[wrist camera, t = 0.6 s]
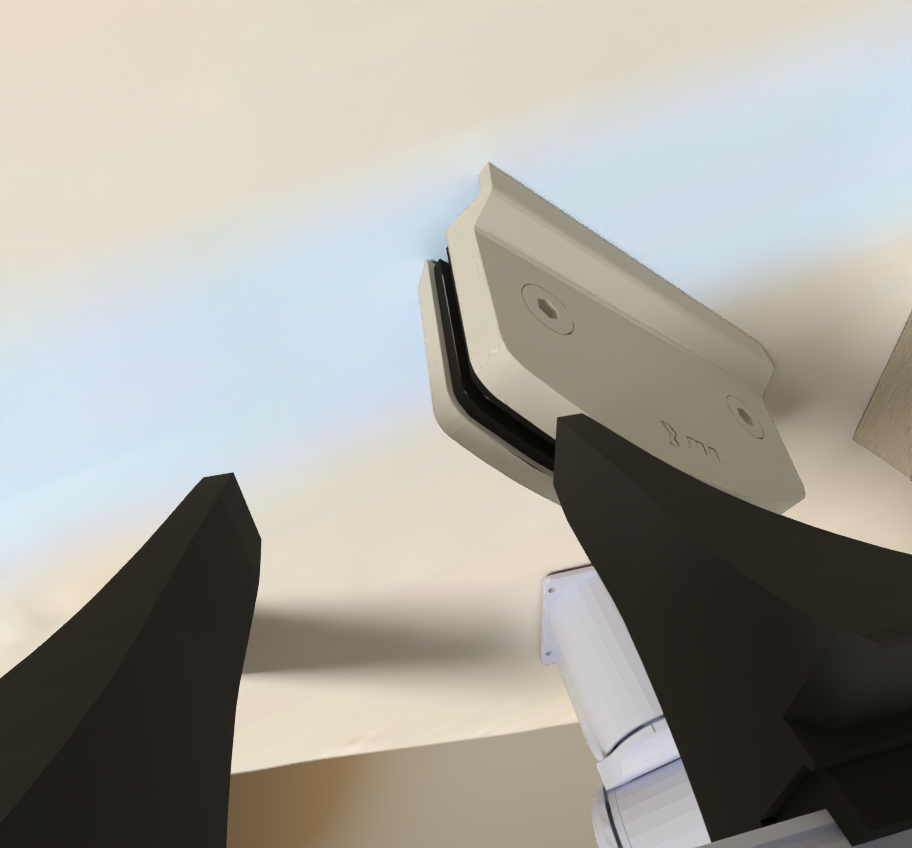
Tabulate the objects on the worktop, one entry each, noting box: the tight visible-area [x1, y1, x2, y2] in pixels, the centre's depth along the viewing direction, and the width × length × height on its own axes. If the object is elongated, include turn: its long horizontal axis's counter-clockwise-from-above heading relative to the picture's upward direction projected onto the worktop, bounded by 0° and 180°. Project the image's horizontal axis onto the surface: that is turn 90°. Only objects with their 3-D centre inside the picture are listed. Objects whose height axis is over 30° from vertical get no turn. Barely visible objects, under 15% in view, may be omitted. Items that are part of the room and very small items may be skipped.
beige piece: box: [418, 162, 805, 515], centre depth 19 cm, size 17×5×10 cm, turn 60°
